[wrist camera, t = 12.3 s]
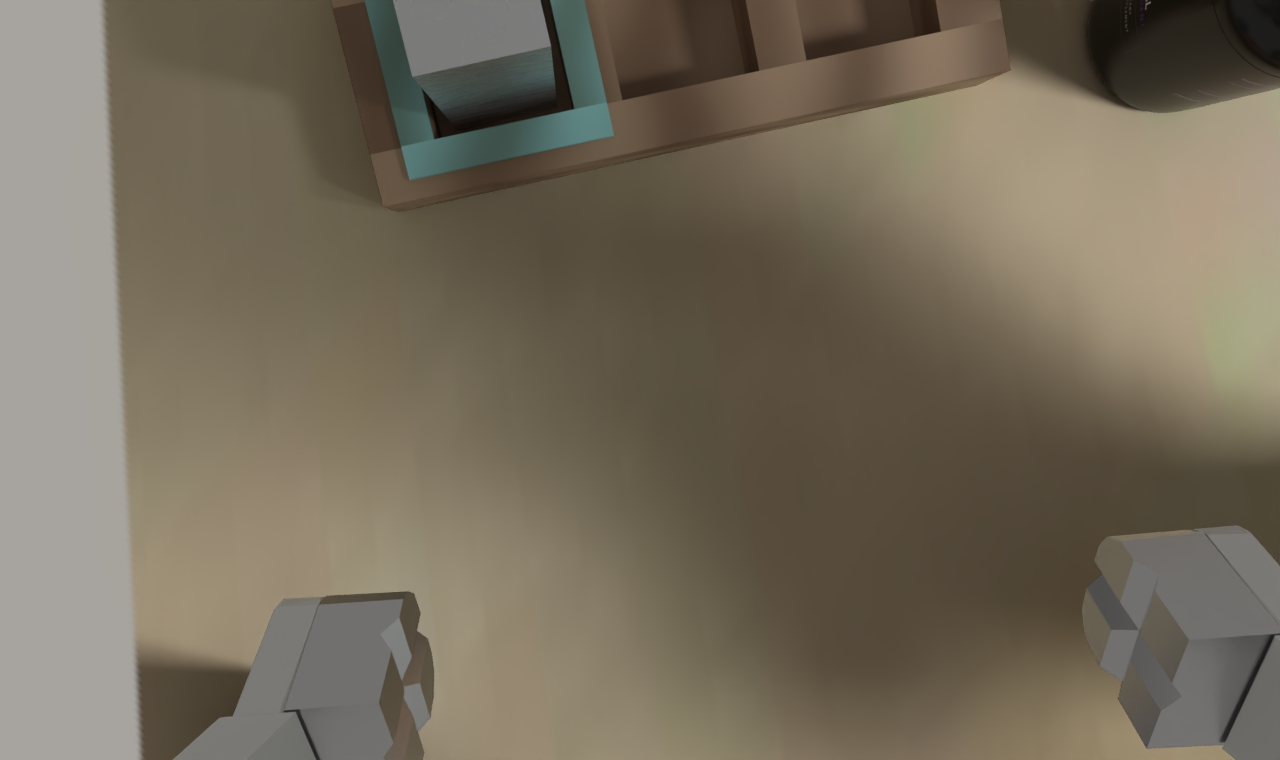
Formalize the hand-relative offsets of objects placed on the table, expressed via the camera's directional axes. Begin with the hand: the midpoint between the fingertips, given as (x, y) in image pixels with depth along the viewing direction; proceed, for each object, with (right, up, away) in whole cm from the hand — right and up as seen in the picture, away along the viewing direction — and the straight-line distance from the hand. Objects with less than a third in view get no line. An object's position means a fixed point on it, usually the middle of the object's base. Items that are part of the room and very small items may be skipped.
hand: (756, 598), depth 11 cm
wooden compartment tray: (0, +16, +25) cm, 30 cm away
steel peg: (-7, +15, +25) cm, 30 cm away
